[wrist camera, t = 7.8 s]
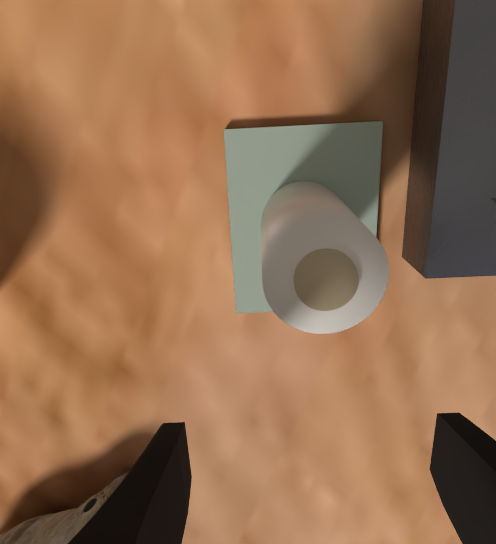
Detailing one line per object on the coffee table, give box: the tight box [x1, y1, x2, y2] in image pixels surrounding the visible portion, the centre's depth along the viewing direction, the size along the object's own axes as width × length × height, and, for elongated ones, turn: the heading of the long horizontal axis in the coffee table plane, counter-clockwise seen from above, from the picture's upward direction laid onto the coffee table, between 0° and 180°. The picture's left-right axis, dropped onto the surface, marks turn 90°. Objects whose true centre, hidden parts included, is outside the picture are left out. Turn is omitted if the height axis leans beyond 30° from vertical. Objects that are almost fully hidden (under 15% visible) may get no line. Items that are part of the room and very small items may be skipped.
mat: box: [224, 121, 383, 313], centre depth 20 cm, size 9×7×1 cm
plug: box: [261, 181, 389, 334], centre depth 16 cm, size 4×4×7 cm
